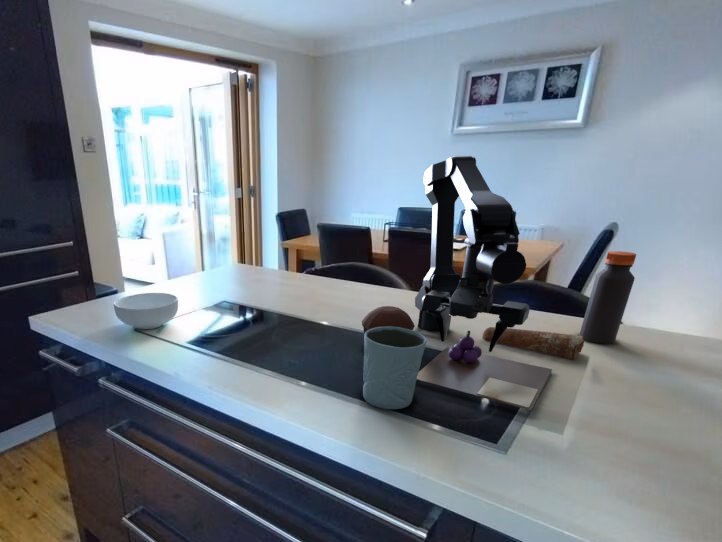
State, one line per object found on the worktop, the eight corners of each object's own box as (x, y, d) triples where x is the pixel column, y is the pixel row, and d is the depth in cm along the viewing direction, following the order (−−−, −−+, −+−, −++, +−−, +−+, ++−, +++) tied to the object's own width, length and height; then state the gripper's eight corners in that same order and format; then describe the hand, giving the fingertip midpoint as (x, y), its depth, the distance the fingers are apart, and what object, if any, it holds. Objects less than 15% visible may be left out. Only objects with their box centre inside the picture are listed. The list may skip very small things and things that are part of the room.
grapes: (445, 360, 91) (450, 331, 89) (454, 351, 95) (459, 324, 93) (474, 366, 88) (479, 337, 85) (482, 357, 92) (487, 329, 89)
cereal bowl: (192, 320, 122) (190, 296, 120) (149, 339, 110) (145, 312, 107) (148, 312, 131) (145, 288, 128) (103, 328, 118) (99, 303, 115)
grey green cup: (355, 385, 84) (359, 326, 80) (408, 384, 84) (416, 325, 79) (365, 412, 75) (371, 347, 70) (425, 412, 75) (435, 346, 70)
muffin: (371, 338, 107) (374, 298, 103) (417, 347, 101) (423, 305, 97) (351, 354, 98) (354, 311, 94) (400, 365, 92) (405, 320, 88)
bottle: (608, 335, 105) (634, 250, 97) (619, 345, 99) (648, 256, 91) (575, 332, 107) (598, 249, 99) (584, 342, 101) (609, 255, 93)
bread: (576, 366, 89) (583, 341, 87) (478, 344, 102) (482, 321, 99) (582, 357, 94) (589, 332, 91) (487, 337, 106) (491, 315, 104)
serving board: (411, 383, 84) (412, 376, 84) (446, 351, 98) (447, 345, 98) (529, 416, 72) (531, 409, 72) (550, 374, 86) (552, 368, 86)
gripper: (415, 272, 84) (406, 347, 90) (525, 286, 73) (506, 371, 79) (435, 263, 92) (426, 332, 98) (538, 274, 81) (520, 352, 87)
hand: (466, 346), depth 90 cm, fingers open, 9 cm apart
